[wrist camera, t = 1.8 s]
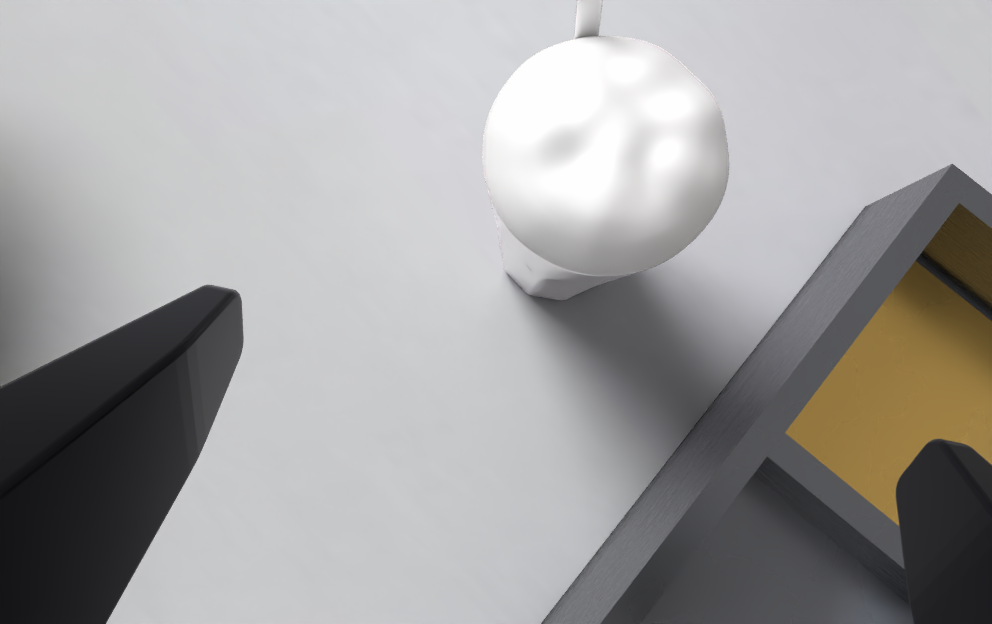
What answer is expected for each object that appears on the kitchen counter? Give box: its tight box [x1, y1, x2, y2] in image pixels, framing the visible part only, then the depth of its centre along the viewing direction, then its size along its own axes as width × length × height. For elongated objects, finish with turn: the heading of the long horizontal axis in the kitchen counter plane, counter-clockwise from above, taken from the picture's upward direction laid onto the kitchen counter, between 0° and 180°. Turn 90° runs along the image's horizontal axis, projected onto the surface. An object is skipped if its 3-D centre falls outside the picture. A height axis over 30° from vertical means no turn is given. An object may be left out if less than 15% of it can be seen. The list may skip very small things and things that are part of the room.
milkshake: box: [482, 0, 729, 301], centre depth 17 cm, size 5×5×10 cm
